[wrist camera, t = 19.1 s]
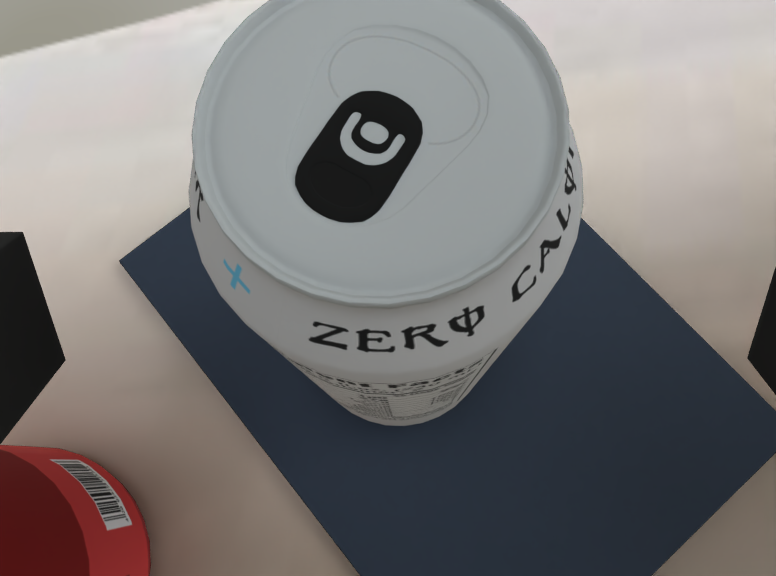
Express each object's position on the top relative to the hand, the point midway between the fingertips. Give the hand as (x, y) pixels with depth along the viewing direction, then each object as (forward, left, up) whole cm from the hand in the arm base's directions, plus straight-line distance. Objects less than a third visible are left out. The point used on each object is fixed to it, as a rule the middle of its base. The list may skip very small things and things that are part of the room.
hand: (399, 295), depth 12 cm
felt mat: (0, -2, -12) cm, 12 cm away
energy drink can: (+1, -1, -11) cm, 11 cm away
